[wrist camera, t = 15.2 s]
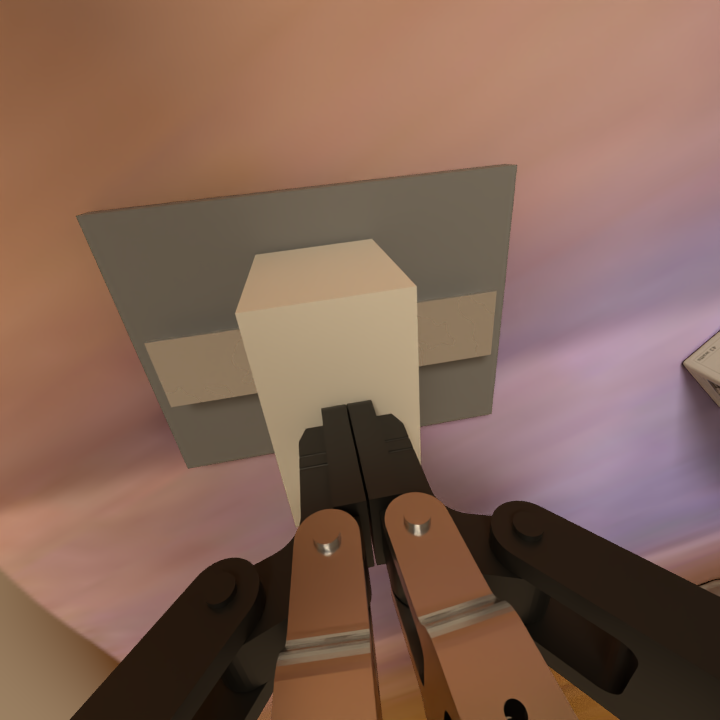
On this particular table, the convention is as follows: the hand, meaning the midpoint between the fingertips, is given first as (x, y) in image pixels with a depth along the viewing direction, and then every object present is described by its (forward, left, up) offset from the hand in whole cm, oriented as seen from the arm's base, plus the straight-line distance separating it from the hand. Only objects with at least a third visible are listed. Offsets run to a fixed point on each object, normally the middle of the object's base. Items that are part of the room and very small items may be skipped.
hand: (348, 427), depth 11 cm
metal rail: (0, 0, -7) cm, 7 cm away
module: (0, 0, -6) cm, 6 cm away
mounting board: (0, 0, -7) cm, 7 cm away
